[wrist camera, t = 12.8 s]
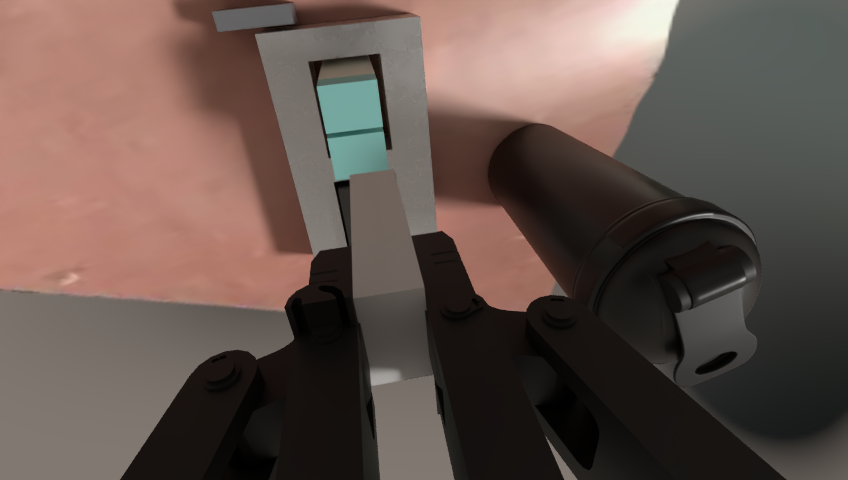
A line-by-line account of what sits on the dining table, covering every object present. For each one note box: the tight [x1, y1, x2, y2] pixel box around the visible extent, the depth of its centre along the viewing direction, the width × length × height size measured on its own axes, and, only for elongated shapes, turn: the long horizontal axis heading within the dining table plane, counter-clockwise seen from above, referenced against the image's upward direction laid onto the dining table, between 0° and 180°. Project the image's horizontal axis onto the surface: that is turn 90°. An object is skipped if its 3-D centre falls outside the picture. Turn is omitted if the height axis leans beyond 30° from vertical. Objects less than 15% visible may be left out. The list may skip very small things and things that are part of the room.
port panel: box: [255, 13, 437, 258], centre depth 35 cm, size 20×11×5 cm, turn 5°
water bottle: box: [488, 124, 762, 387], centre depth 31 cm, size 10×10×23 cm
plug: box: [317, 55, 389, 181], centre depth 31 cm, size 6×4×10 cm, turn 5°
